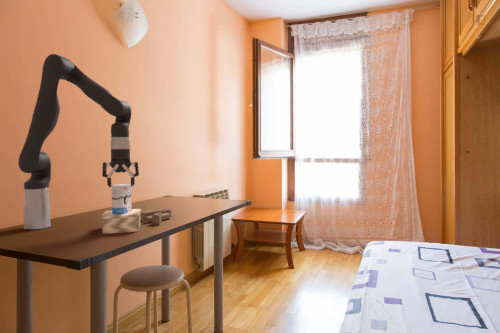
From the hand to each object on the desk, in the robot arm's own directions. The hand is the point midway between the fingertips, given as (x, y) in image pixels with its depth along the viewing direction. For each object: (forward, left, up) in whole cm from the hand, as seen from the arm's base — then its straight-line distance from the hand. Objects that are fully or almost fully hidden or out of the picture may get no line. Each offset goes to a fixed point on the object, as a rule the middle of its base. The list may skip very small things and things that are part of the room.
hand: (121, 186), depth 144 cm
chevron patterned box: (0, 0, -18) cm, 18 cm away
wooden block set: (+17, +13, -19) cm, 29 cm away
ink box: (0, 0, -11) cm, 11 cm away
